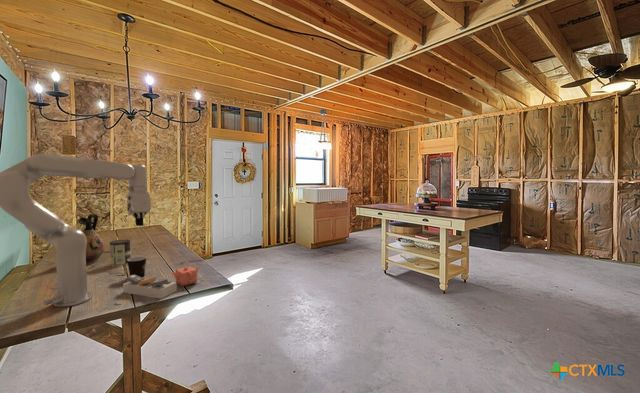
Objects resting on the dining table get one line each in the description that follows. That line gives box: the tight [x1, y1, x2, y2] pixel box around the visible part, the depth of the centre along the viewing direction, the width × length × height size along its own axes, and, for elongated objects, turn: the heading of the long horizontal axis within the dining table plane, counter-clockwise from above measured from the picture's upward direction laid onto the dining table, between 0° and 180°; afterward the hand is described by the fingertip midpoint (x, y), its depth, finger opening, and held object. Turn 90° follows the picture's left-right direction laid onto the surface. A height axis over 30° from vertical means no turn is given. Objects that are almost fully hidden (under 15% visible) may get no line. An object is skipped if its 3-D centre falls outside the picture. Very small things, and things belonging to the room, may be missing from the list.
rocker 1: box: [126, 274, 145, 284], centre depth 132 cm, size 4×6×2 cm, turn 74°
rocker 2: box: [138, 276, 157, 285], centre depth 130 cm, size 4×6×2 cm, turn 74°
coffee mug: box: [127, 256, 147, 278], centre depth 151 cm, size 12×9×10 cm
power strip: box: [122, 277, 178, 299], centre depth 132 cm, size 9×27×4 cm, turn 74°
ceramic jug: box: [78, 213, 105, 265], centre depth 176 cm, size 17×15×30 cm
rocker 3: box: [150, 278, 168, 286], centre depth 128 cm, size 4×6×2 cm, turn 74°
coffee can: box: [109, 239, 132, 267], centre depth 172 cm, size 10×10×14 cm
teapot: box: [170, 265, 201, 287], centre depth 142 cm, size 12×15×8 cm
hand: (139, 225), depth 142 cm, fingers closed
